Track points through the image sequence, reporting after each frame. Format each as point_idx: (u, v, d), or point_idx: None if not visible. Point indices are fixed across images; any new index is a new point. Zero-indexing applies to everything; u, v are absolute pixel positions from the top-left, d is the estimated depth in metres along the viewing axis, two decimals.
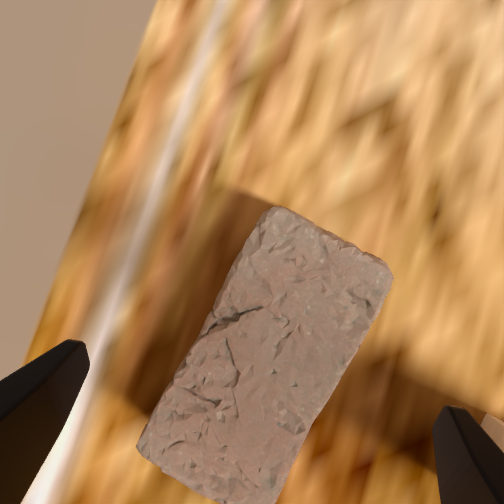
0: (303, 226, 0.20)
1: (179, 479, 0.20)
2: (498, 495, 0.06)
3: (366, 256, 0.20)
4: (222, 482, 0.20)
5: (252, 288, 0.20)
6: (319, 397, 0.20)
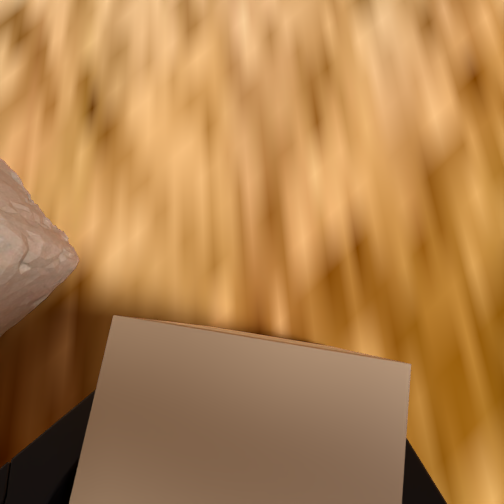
0: None
1: None
2: None
3: None
4: None
5: None
6: None
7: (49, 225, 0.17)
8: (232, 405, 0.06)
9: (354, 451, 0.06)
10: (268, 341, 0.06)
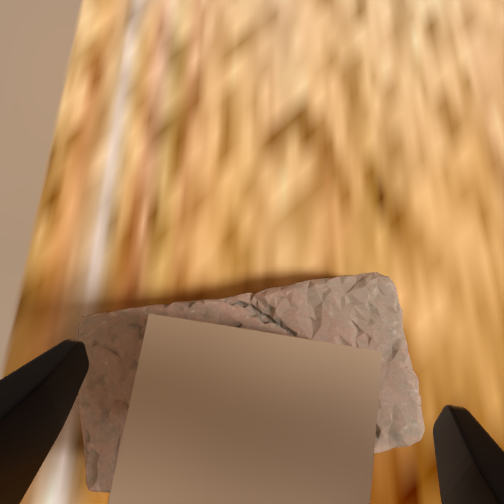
0: (396, 318, 0.18)
1: None
2: (499, 495, 0.06)
3: (419, 398, 0.17)
4: (105, 424, 0.17)
5: (303, 314, 0.18)
6: None
7: None
8: (243, 383, 0.08)
9: (338, 418, 0.07)
10: (271, 334, 0.08)
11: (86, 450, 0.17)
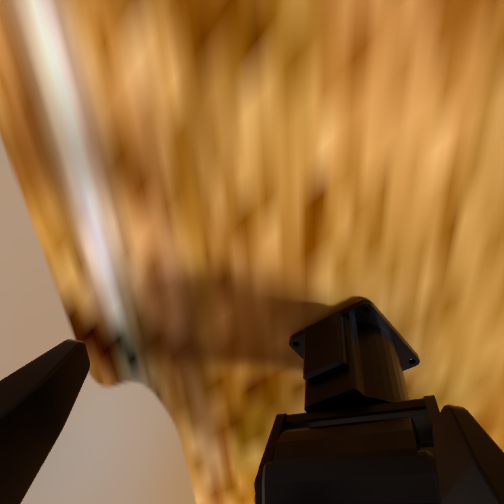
0: None
1: None
2: (498, 495, 0.06)
3: None
4: None
5: None
6: None
7: None
8: None
9: None
10: None
11: None
